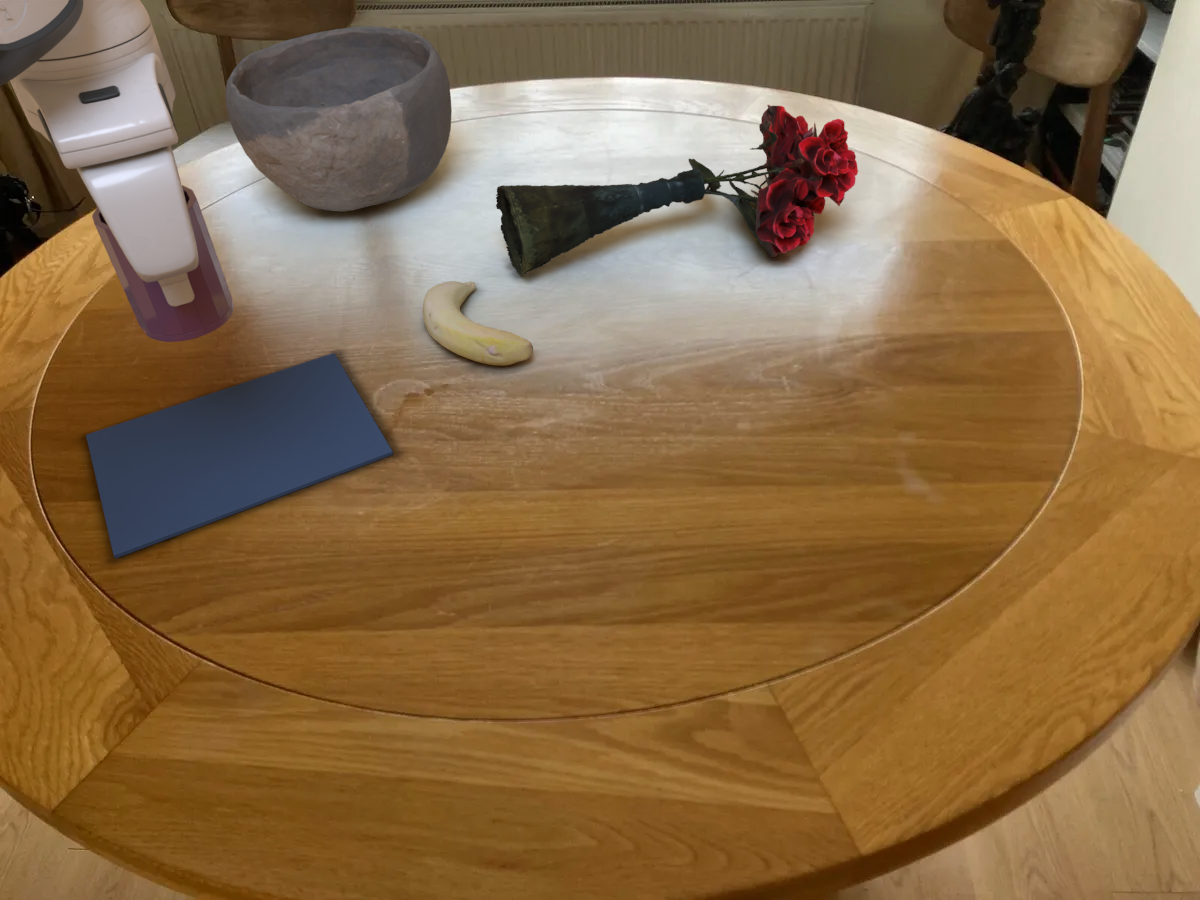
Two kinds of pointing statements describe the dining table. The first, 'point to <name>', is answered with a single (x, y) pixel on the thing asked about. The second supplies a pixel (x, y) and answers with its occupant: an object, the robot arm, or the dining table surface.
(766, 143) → the vase with red roses
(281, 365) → the dining table surface
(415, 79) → the bowl
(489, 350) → the fruit
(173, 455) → the rectangular board
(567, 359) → the dining table surface
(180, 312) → the cup
